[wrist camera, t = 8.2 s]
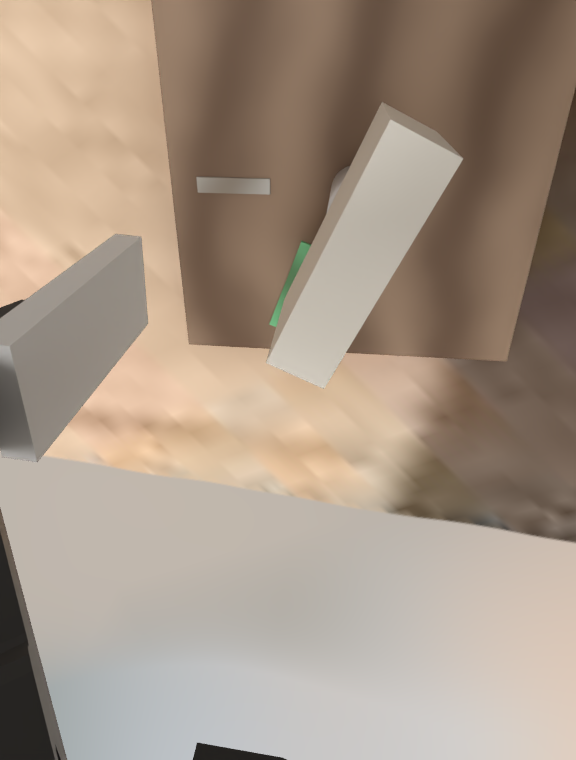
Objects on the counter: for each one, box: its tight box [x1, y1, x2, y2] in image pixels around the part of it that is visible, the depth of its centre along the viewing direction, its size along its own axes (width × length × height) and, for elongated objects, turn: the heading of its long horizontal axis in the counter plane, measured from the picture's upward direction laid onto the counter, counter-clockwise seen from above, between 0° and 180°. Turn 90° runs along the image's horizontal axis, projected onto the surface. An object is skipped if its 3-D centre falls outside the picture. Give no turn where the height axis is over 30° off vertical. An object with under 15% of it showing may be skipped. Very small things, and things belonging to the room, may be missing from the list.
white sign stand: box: [266, 102, 463, 389], centre depth 24 cm, size 14×2×12 cm, turn 155°
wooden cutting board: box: [151, 0, 576, 361], centre depth 29 cm, size 20×20×2 cm
